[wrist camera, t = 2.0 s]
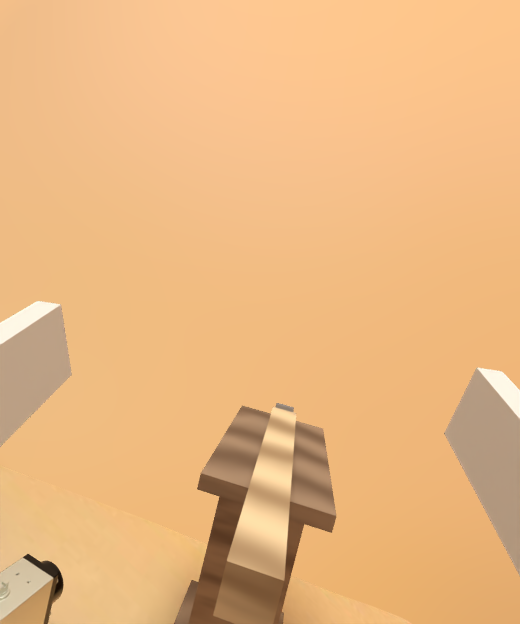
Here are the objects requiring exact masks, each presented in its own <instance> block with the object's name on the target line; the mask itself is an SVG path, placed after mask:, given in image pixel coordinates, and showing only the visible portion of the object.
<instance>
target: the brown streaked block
mask: <svg viewBox="0 0 520 624" xmlns="http://www.w3.org/2000/svg"><path fill="white" fill-rule="evenodd" d="M293 409H294V408H293V407H290V406H286V405H283V404H279V403H277V404H276V407H273V409H272V412H271V416H270V419H269V422H268V425H267V429H266V432H265V435H264V439H263V442H262V445H261V449H260V452H259V455H258V459H257V462H256V465H255V469H254V472H253V475H252V479H251V482H250V485H249V489H248V492H247V495H246V499H245V502H244V505H243V508H242V512H241V515H240V518H239V522H238V525H237V528H236V532H235V535H234V538H233V542H232V545H231V548H230V552H229V555H228V558H227V562H226V566H225V570H224V574H223V578H222V582H221V586H220V590H219V594H218V598H217V602H216V606H215V610H214V614H213V616H215V617H218V618H221V619H223V620H226V621H229V622H232V623H234V624H273V623H274V619H275V615H276V611H277V607H278V603H279V599H280V596H281V592H282V588H283V584H284V578H285V564H286V550H287V536H288V522H289V508H290V494H291V480H292V466H293V452H294V438H295V424H296V413H293Z"/></svg>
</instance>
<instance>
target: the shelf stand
mask: <svg viewBox="0 0 520 624" xmlns="http://www.w3.org/2000/svg"><path fill="white" fill-rule="evenodd" d="M270 416H271V414H269V413H266V412H263V411H259V410H256V409H252V408H249V407H245V406H242V407H241V408H240V410H239V412H238V413H237V415H236V417H235V418H234V420H233V422H232V423H231V425H230V427H229V428H228V430H227V431H226V433H225V435H224V436H223V438H222V440H221V441H220V443H219V445H218V446H217V448H216V450H215V451H214V453H213V454H212V456H211V458H210V459H209V461H208V463H207V464H206V466H205V467H204V469H203V471H202V472H201V475H200V480H199V484H198V488H197V489H198V490H201V491H204V492H207V493H210V494H214V495H217V496H220V497H219V501H218V505H217V509H216V513H215V517H214V522H213V526H212V530H211V534H210V538H209V542H208V546H207V550H206V554H205V558H204V562H203V566H202V570H201V575H200V579H199V582H196V581H193V580H192V581H191V583H190V586H189V588H188V591H187V593H186V596H185V598H184V600H183V603H182V605H181V608H180V610H179V613H178V615H177V618H176V620H175V623H174V624H234V623H232V622H229V621H226V620H223V619H221V618H218V617H215V616H213V614H214V610H215V606H216V602H217V598H218V594H219V590H220V586H221V582H222V578H223V574H224V570H225V566H226V562H227V558H228V555H229V552H230V548H231V545H232V542H233V538H234V535H235V532H236V528H237V525H238V522H239V518H240V515H241V512H242V508H243V505H244V502H245V499H246V495H247V492H248V489H249V485H250V482H251V479H252V475H253V472H254V469H255V465H256V462H257V459H258V455H259V452H260V449H261V445H262V442H263V439H264V435H265V432H266V429H267V425H268V422H269V419H270ZM335 519H336V511H335V504H334V498H333V491H332V485H331V479H330V472H329V465H328V459H327V452H326V446H325V439H324V432H323V429H322V428H319V427H315V426H312V425H308V424H305V423H301V422H298V421H296V424H295V438H294V452H293V466H292V480H291V494H290V508H289V522H288V536H287V550H286V564H285V578H284V584H283V588H282V592H281V596H280V599H279V603H278V607H277V611H276V615H275V619H274V623H273V624H283V616H284V613H283V612H281V611H282V607H283V603H284V599H285V596H286V592H287V588H288V584H289V580H290V576H291V572H292V568H293V565H294V561H295V557H296V553H297V549H298V546H299V542H300V538H301V534H302V530H303V526H304V524H306V525H309V526H312V527H316V528H319V529H322V530H325V531H328V532H332V530H333V526H334V523H335Z"/></svg>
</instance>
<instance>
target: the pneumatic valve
mask: <svg viewBox="0 0 520 624" xmlns="http://www.w3.org/2000/svg"><path fill="white" fill-rule="evenodd" d="M62 591H63V578H62V575H61V572H60V570H59V569H58V567H57V566H56V565H55V564H54V563H52V562H50V561H42V562H40V561H38V560H37V559H35V558H34V557H32V556H31V555H29V554H27V555H26V556H24V557H23V558H21V559H20V560H18V561H17V562H15V563H14V564H12V565H11V566H9V567H8V568H6V569H5V570H3V571H2V572H0V624H48V620H49V616H50V615H51V612H50V611H51V606H52V604H53V603H54V602H55V601H56V600H57V599H58V598H59V597H60V596H61V594H62Z"/></svg>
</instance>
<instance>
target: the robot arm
mask: <svg viewBox="0 0 520 624" xmlns="http://www.w3.org/2000/svg"><path fill="white" fill-rule="evenodd" d="M70 376H71V367H70V361H69V354H68V348H67V341H66V335H65V328H64V321H63V315H62V308H61V305H60V304H54V303H47V302H41V301H37V302H35V303H33V304H32V305H30V306H28V307H27V308H25V309H23V310H21V311H20V312H18V313H16V314H15V315H13V316H11V317H10V318H8V319H6V320H4V321H3V322H1V323H0V447H1V446H2V445H3V443H5V441H6V440H8V438H10V436H11V435H12V434H14V432H15V431H16V430H17V429H18V428H19V427H20V426H21V425H22V424H23V423H24V422H25V421H26V420H27V419H28V418H29V417H30V416H31V415H32V414H33V413H34V412H35V411H36V410H37V409H38V408H39V407H40V406H41V405H42V404H43V403H44V402H45V401H46V400H47V399H48V398H49V397H50V396H51V395H52V394H53V393H54V392H55V391H56V390H57V389H58V388H59V387H60V386H61V385H62V384H63V383H64V382H65V381H66V380H67V379H68V378H69V377H70ZM444 434H445V436H446V438H447V439H448V441H449V443H450V445H451V447H452V449H453V451H454V453H455V455H456V456H457V458H458V460H459V462H460V464H461V466H462V468H463V469H464V471H465V473H466V475H467V477H468V479H469V481H470V483H471V485H472V487H473V488H474V490H475V492H476V494H477V496H478V498H479V500H480V502H481V503H482V505H483V507H484V509H485V511H486V513H487V515H488V517H489V518H490V521H491V522H492V524H493V526H494V528H495V530H496V532H497V533H498V535H499V537H500V539H501V541H502V543H503V545H504V547H505V548H506V551H507V553H508V554H509V556H510V558H511V560H512V562H513V564H514V566H515V568H516V570H517V571H518V573H519V575H520V390H519V389H518V388H517V387H516V386H515V385H514V384H513V383H512V382H511V381H510V380H509V379H508V377H507V376H506V375H505V374H504V373H503V372H501V371H495V370H489V369H482V368H476V370H475V372H474V374H473V376H472V378H471V380H470V382H469V385H468V386H467V388H466V391H465V393H464V395H463V397H462V399H461V401H460V403H459V405H458V407H457V409H456V411H455V413H454V415H453V417H452V419H451V421H450V423H449V425H448V427H447V429H446V431H445V433H444Z"/></svg>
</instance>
